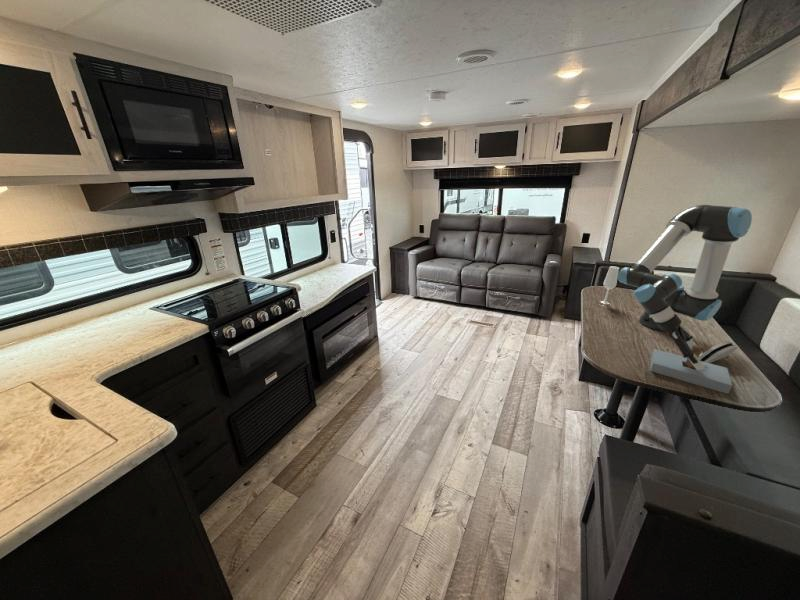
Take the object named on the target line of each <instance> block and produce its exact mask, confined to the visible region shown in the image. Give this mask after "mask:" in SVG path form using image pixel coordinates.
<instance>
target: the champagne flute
mask: <svg viewBox="0 0 800 600" xmlns="http://www.w3.org/2000/svg"><path fill="white" fill-rule="evenodd" d="M619 272H620V267H618V266H613V265H612V266H611V265H610V266H609V268H608V271H607V273H606V276H605V278H604V281H603V286H604V288H605V289H606V293H605V296H604V300H602V301H600V302H601V303H603V304H610V303H609V302H608V300H607V299H608V296H609V294H610V290H612V289H615V287H616V286H617V282H618V274H619Z"/></svg>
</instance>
